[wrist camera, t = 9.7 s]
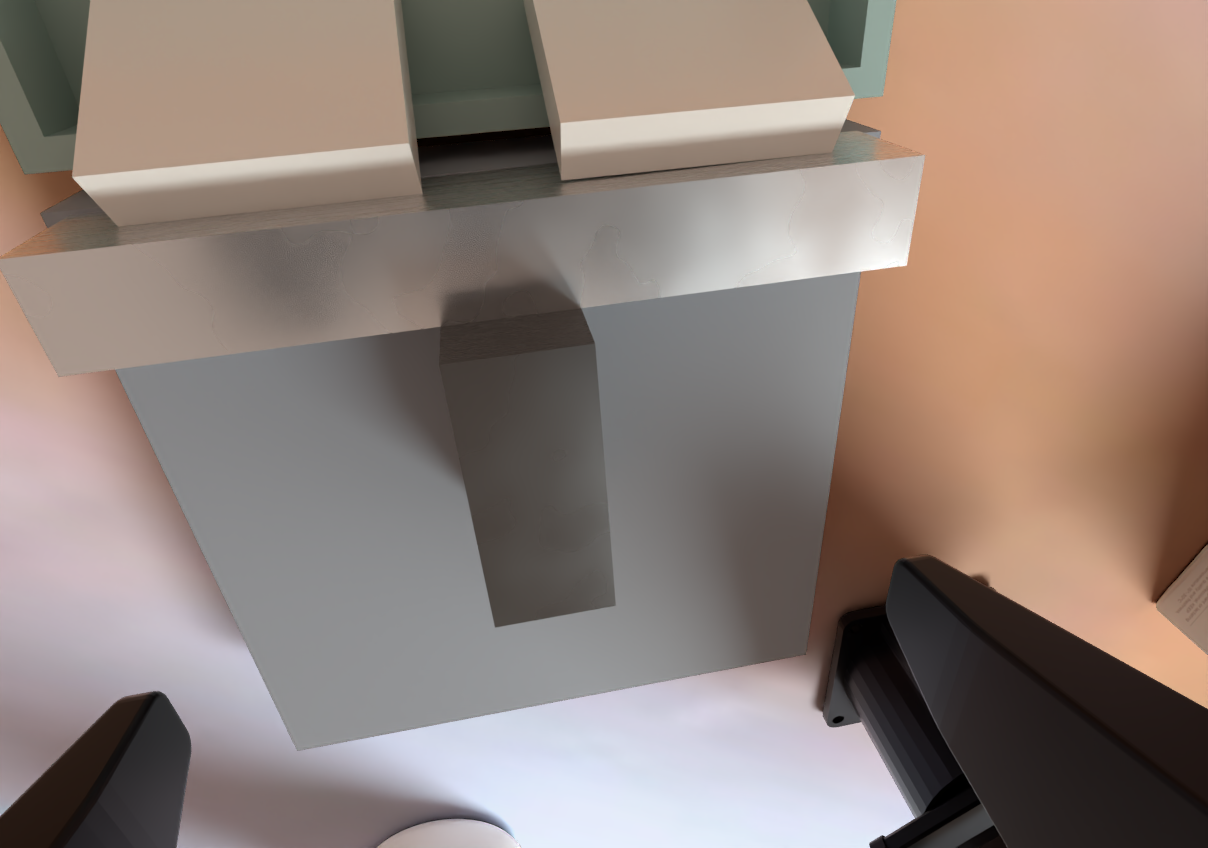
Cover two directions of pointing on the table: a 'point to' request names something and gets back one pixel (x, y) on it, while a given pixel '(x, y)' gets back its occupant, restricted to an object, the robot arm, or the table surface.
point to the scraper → (476, 307)
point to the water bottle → (451, 836)
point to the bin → (435, 59)
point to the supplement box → (1189, 601)
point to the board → (442, 515)
